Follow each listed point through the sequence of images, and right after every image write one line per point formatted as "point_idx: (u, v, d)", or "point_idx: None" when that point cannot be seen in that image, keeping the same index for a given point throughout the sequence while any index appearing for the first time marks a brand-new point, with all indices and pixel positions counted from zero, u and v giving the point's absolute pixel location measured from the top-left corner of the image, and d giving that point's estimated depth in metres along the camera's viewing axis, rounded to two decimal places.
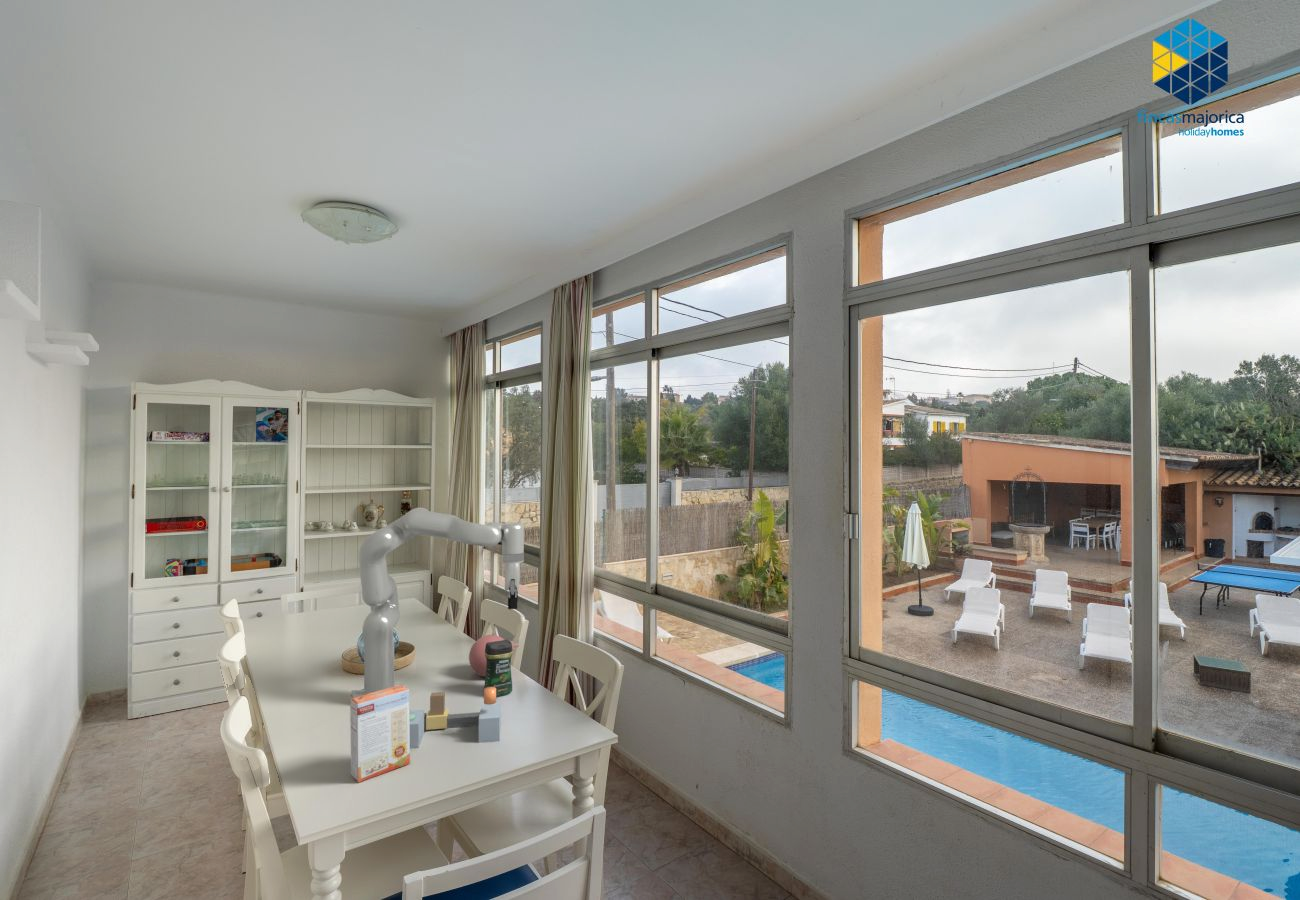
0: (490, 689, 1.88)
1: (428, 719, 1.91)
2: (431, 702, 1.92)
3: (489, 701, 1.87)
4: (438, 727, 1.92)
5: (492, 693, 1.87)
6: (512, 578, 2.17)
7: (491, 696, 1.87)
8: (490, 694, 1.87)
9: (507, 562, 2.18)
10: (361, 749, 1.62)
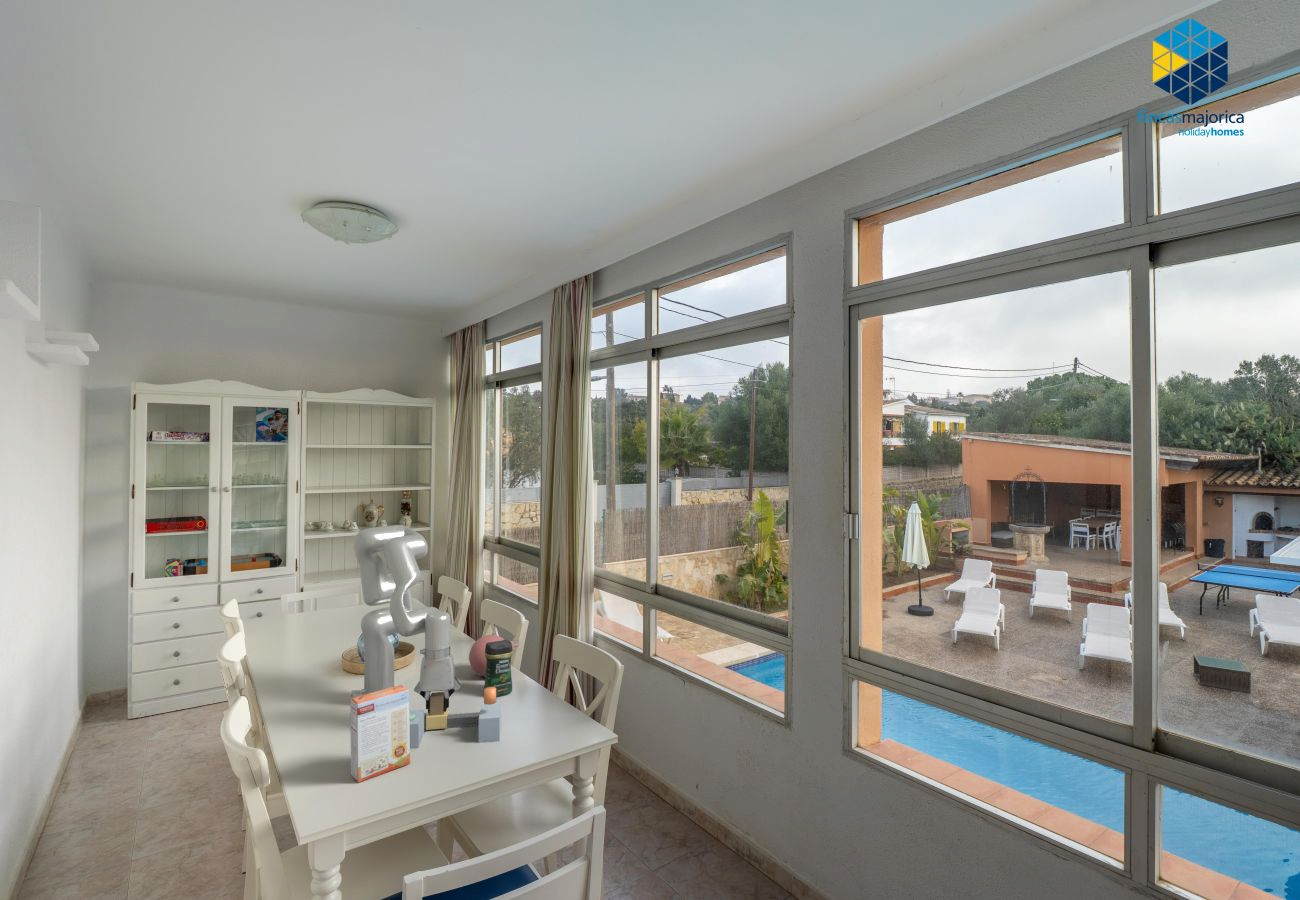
0: (490, 689, 1.88)
1: (428, 719, 1.91)
2: (431, 702, 1.92)
3: (489, 701, 1.87)
4: (438, 727, 1.92)
5: (492, 693, 1.87)
6: (454, 671, 1.95)
7: (491, 696, 1.87)
8: (490, 694, 1.87)
9: (447, 657, 1.93)
10: (361, 749, 1.62)
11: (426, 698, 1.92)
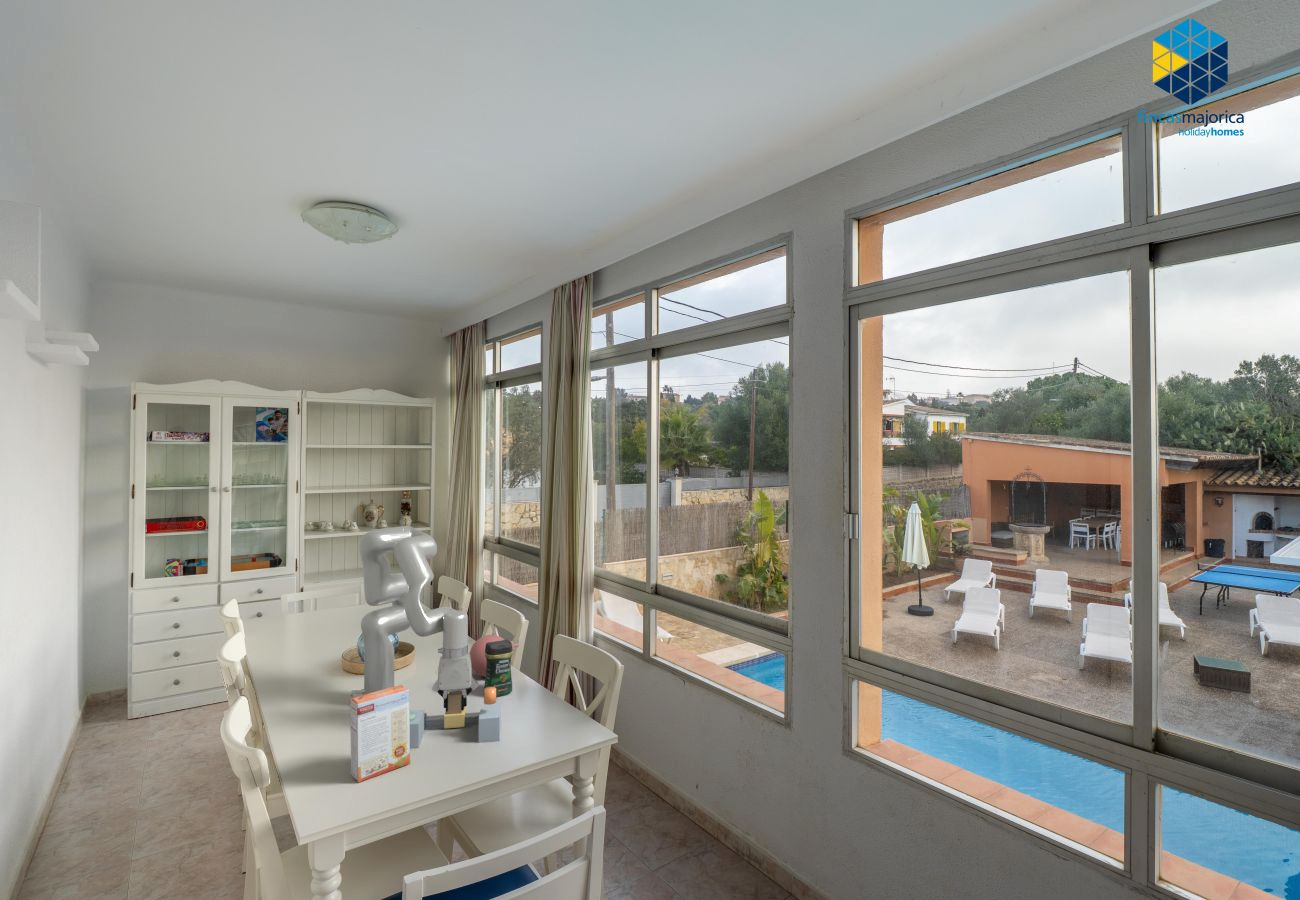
0: (490, 689, 1.88)
1: (446, 718, 1.92)
2: (449, 701, 1.93)
3: (489, 701, 1.87)
4: (456, 726, 1.93)
5: (492, 693, 1.87)
6: (471, 670, 1.96)
7: (491, 696, 1.87)
8: (490, 694, 1.87)
9: (465, 656, 1.94)
10: (361, 749, 1.62)
11: (444, 697, 1.93)
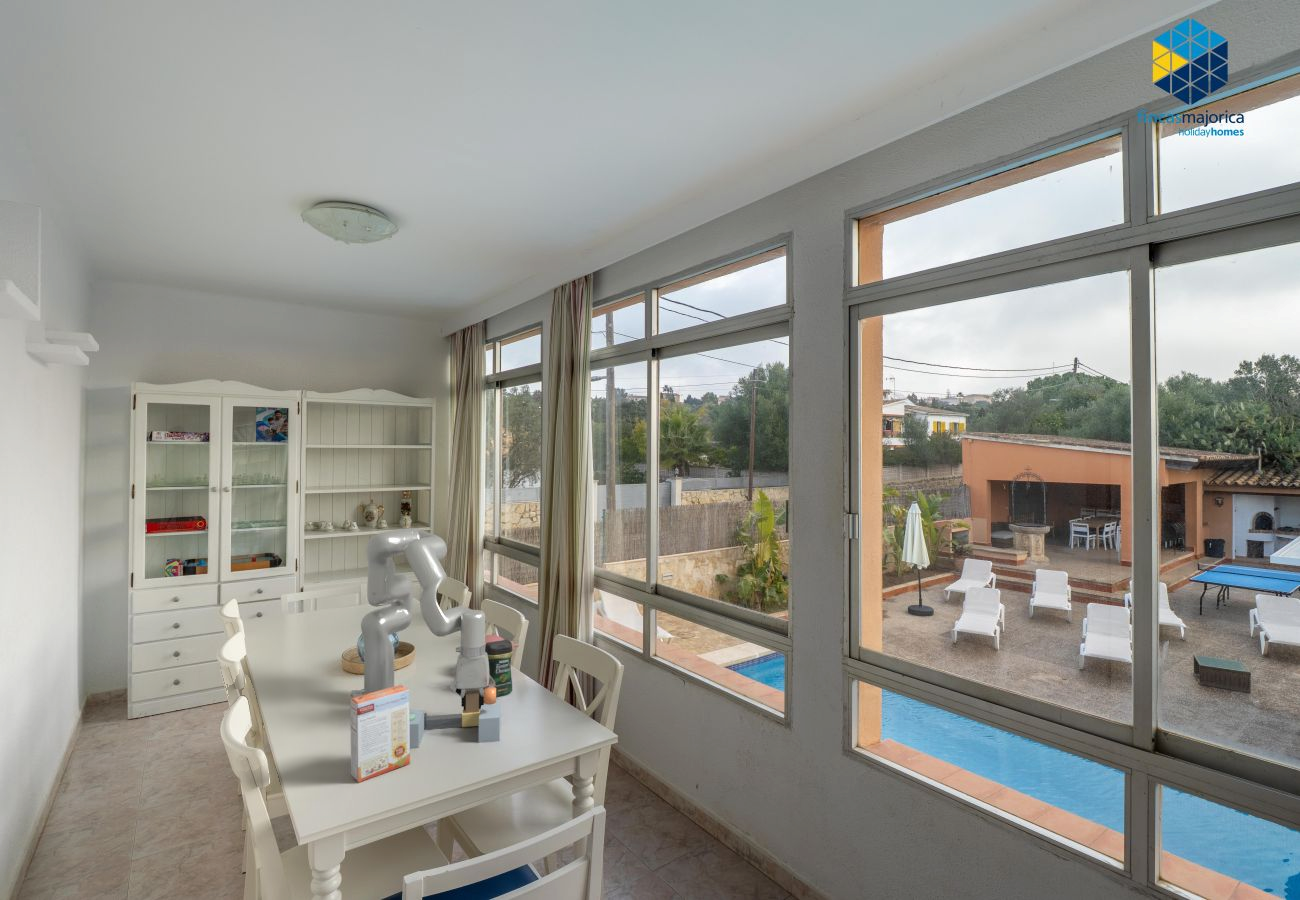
0: (490, 689, 1.88)
1: (464, 716, 1.93)
2: (467, 699, 1.94)
3: (489, 701, 1.87)
4: (474, 724, 1.94)
5: (492, 693, 1.87)
6: None
7: (491, 696, 1.87)
8: (490, 694, 1.87)
9: (483, 655, 1.95)
10: (361, 749, 1.62)
11: (462, 695, 1.94)
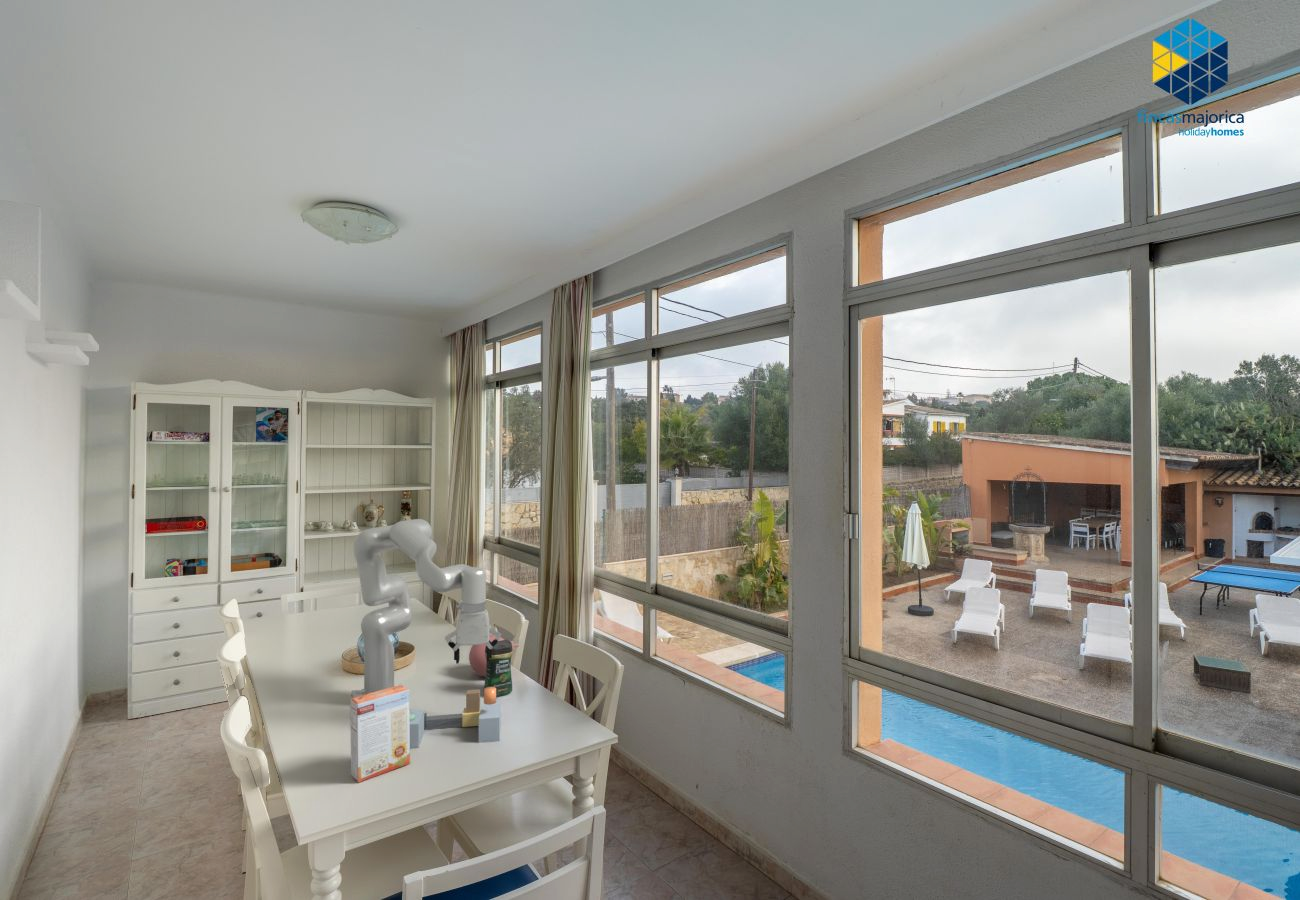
0: (490, 689, 1.88)
1: (464, 716, 1.93)
2: (467, 699, 1.94)
3: (489, 701, 1.87)
4: (474, 724, 1.94)
5: (492, 693, 1.87)
6: (489, 626, 1.97)
7: (491, 696, 1.87)
8: (490, 694, 1.87)
9: (483, 611, 1.95)
10: (361, 749, 1.62)
11: (454, 649, 1.94)
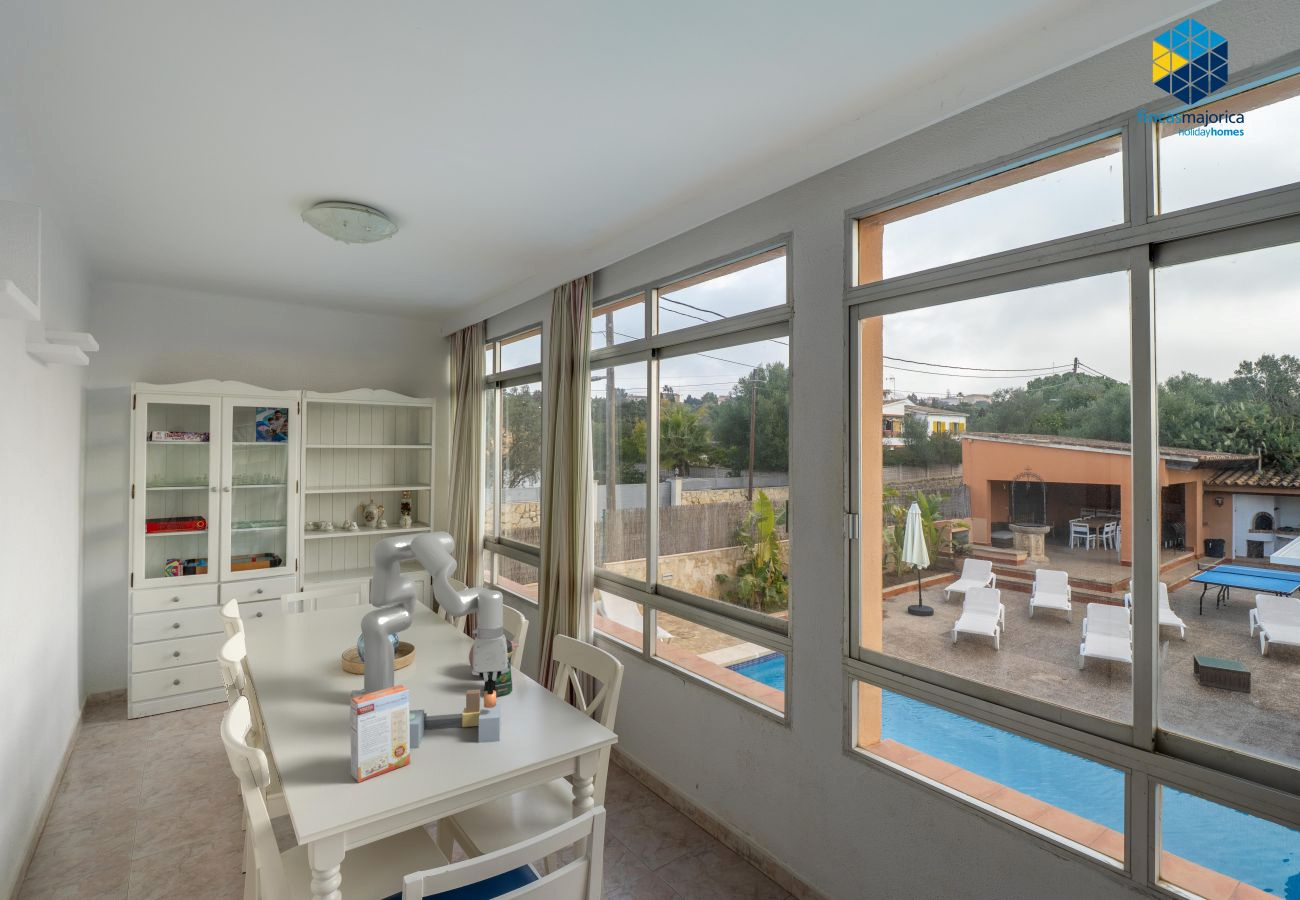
0: (490, 692, 1.88)
1: (464, 716, 1.93)
2: (467, 699, 1.94)
3: (489, 704, 1.87)
4: (474, 724, 1.94)
5: (492, 696, 1.87)
6: None
7: (491, 699, 1.87)
8: (490, 697, 1.87)
9: (501, 636, 1.87)
10: (361, 749, 1.62)
11: (486, 679, 1.87)
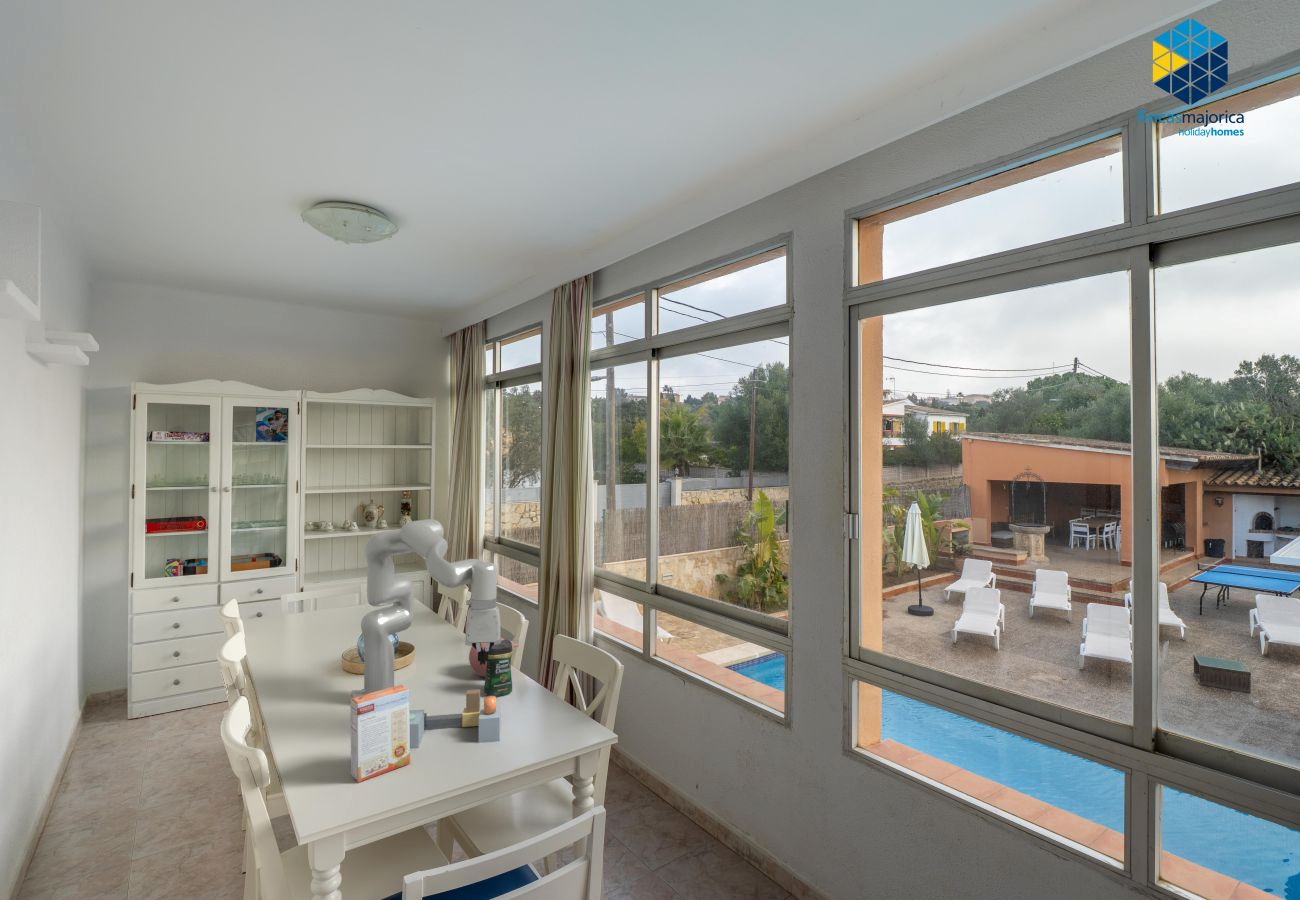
0: (490, 698, 1.88)
1: (464, 716, 1.93)
2: (467, 699, 1.94)
3: (489, 710, 1.87)
4: (474, 724, 1.94)
5: (491, 702, 1.87)
6: None
7: (491, 705, 1.87)
8: (490, 703, 1.87)
9: (494, 608, 1.89)
10: (361, 749, 1.62)
11: (478, 649, 1.88)
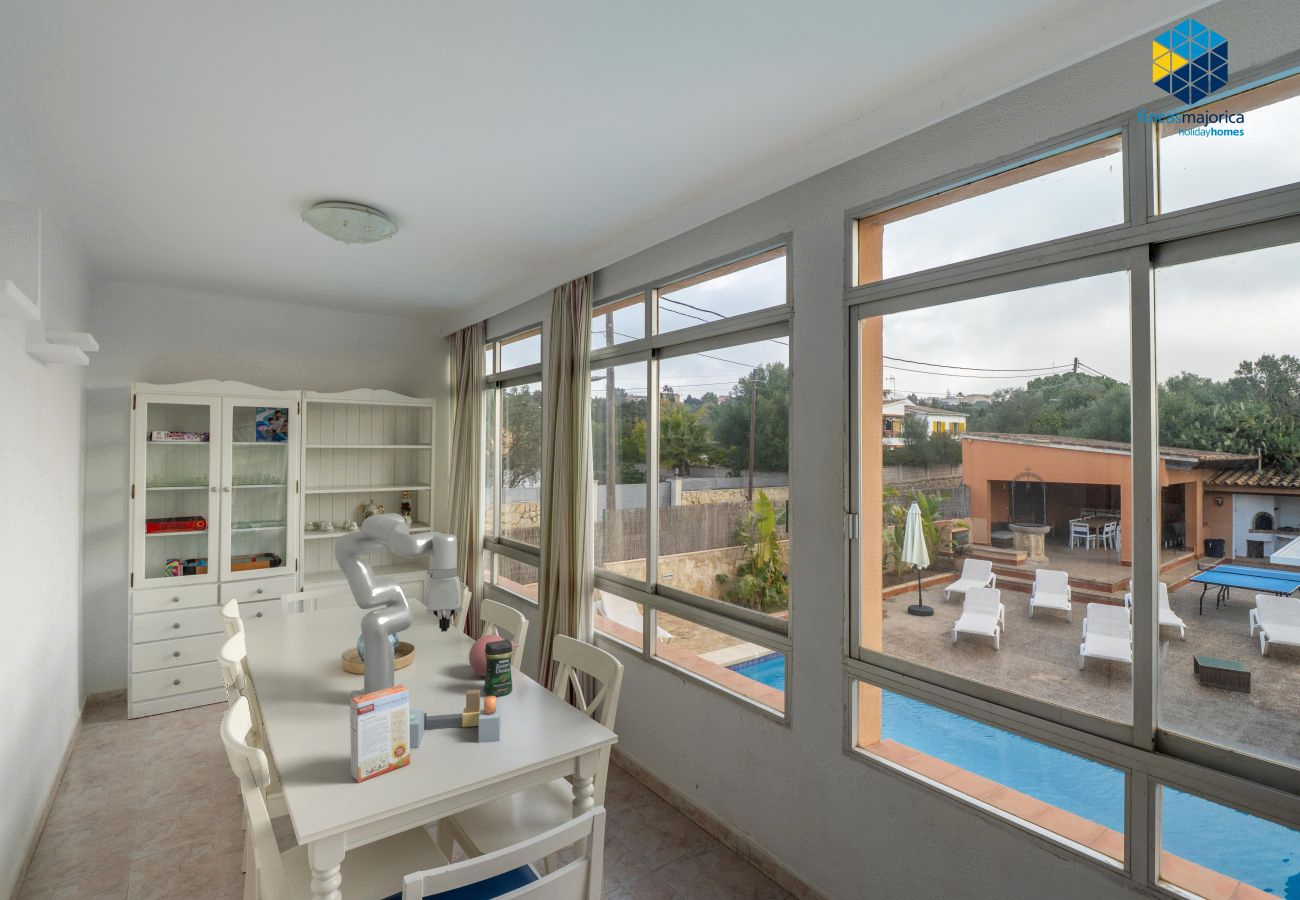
0: (490, 698, 1.88)
1: (464, 716, 1.93)
2: (467, 699, 1.94)
3: (489, 710, 1.87)
4: (474, 724, 1.94)
5: (491, 702, 1.87)
6: (460, 592, 1.99)
7: (491, 705, 1.87)
8: (490, 703, 1.87)
9: (454, 577, 1.97)
10: (361, 749, 1.62)
11: (439, 617, 1.97)
